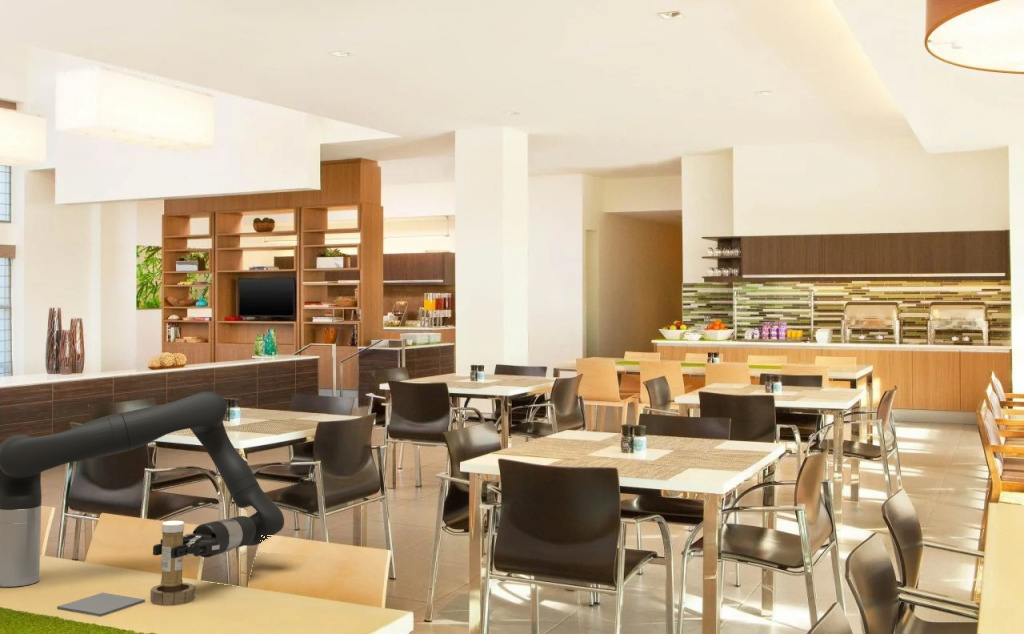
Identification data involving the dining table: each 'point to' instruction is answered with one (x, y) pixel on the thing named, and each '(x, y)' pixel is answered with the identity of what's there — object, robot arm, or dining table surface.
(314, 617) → the dining table surface
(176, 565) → the sprinkles bottle
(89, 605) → the rubber mat
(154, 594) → the ring holder
